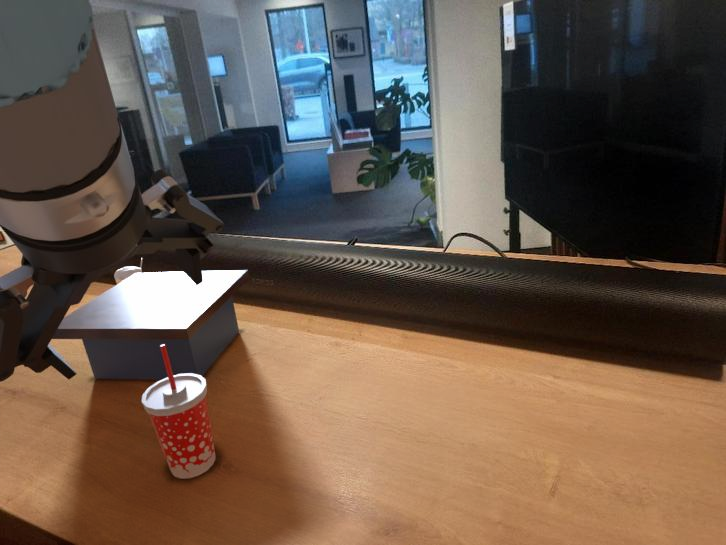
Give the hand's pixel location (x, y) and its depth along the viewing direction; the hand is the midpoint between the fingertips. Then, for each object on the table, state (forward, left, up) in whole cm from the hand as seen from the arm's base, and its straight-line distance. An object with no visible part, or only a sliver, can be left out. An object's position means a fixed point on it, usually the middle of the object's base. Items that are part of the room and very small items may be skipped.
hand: (131, 317), depth 46 cm
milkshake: (-26, +36, -17) cm, 48 cm away
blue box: (-12, +22, -17) cm, 30 cm away
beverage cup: (+3, 0, -17) cm, 17 cm away
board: (-12, +22, -9) cm, 27 cm away
